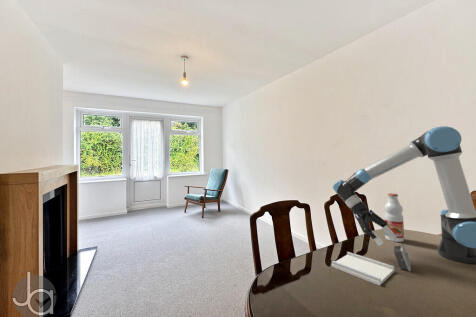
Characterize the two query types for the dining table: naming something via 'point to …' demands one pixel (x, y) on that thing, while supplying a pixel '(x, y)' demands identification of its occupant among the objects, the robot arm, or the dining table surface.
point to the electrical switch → (402, 257)
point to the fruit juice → (394, 218)
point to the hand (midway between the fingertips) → (388, 241)
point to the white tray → (364, 268)
